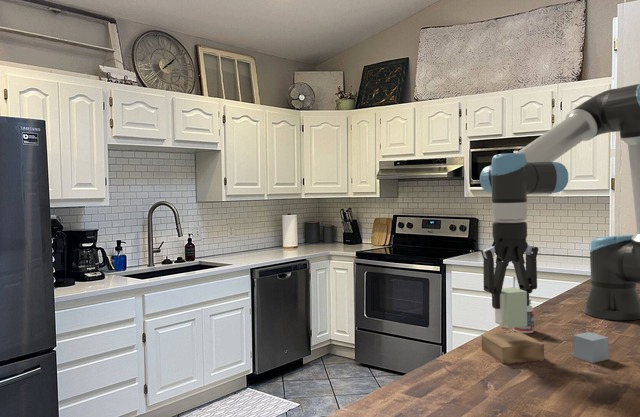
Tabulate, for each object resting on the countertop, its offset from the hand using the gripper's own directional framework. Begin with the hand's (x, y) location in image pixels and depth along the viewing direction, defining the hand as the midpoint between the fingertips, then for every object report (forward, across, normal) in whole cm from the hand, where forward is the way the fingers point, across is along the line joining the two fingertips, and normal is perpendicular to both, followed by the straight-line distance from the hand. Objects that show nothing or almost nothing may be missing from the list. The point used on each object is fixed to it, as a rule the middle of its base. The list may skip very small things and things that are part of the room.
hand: (511, 321), depth 122 cm
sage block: (+1, 0, 0) cm, 1 cm away
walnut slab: (+8, 0, 0) cm, 8 cm away
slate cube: (+8, -15, +8) cm, 19 cm away
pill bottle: (+8, -14, -16) cm, 23 cm away
